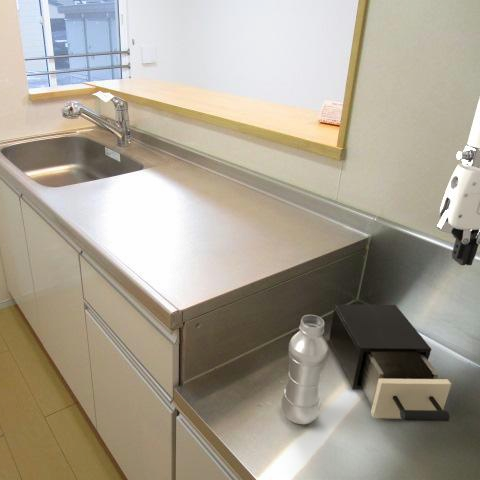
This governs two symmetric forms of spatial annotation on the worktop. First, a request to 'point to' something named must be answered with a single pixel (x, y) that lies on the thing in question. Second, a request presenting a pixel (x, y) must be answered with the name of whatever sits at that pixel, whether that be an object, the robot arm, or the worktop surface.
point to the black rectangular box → (371, 335)
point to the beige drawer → (403, 386)
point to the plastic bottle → (305, 371)
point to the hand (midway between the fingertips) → (461, 261)
